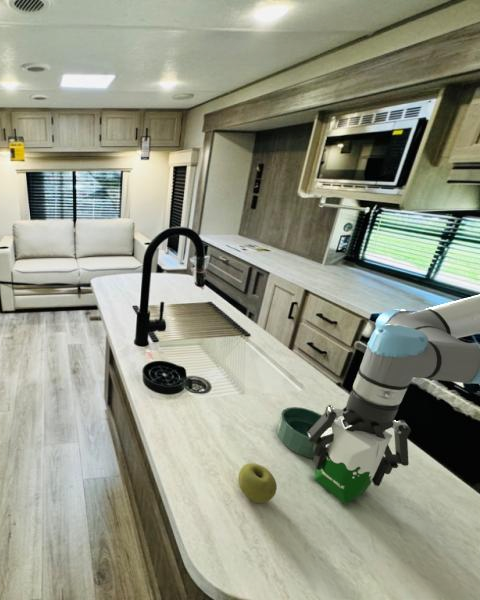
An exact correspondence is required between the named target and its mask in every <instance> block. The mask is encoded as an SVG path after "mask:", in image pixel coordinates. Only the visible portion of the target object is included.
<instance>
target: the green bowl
mask: <svg viewBox="0 0 480 600" xmlns="http://www.w3.org/2000/svg"><path fill="white" fill-rule="evenodd" d="M322 415H323V414H320V413H319V412H316V411H314V410H312V409H308V408H304V407H297V406H291V407H286V408H285V409H283V410H282V411H281V413H280V417H279V421H278V425H277V428H276V433H277V437H278V438H279V440H280V441H281V443H282V444H283V445H285V446H286V447H287V448H288V449H289V450H290V451H292V452H295V453H297V454H298V455H301V456H303V457H306V458H309V459H314V457H315V455H314V453H313V449H312V448H313V445H314V443H312V442H310V441H309V438H308V435H307V432H308V431H309V430H310V429H311V428H312V426H313V425H314V424H315V423H316V422H317V421H318V420H319V419H320V418H321V416H322ZM330 427H332V425H331V426H330ZM330 427H329V428H330Z"/></svg>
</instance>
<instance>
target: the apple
mask: <svg viewBox="0 0 480 600" xmlns="http://www.w3.org/2000/svg"><path fill="white" fill-rule="evenodd" d="M237 479H238V485H239V488H240V490H241V492H242V493H243V495H244V496H245V497H247V499H248V500H250V501H252V502H255V503H257V504H265V503H268V502H270V501H271V500H272V499H273V498H274V497H275V495H276V494H277V481H276V479H275V476H274V475H273V474H272V473H271V471H270V470H269V469H268V468H266V467H265V466H264V465H261V464H259V463H254V462H248V463H246V464H244V465H243V466H241V468H240V469H239V472H238V477H237Z"/></svg>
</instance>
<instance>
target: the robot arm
mask: <svg viewBox="0 0 480 600" xmlns="http://www.w3.org/2000/svg"><path fill="white" fill-rule="evenodd" d="M374 327H375V329H374V330H373V331H372V334H371V336H370V338H369V340H368V342H367V343H366V350H365V352H364V355H363V358H362V360H361V363H360V366H359V369H358V371H357V374H356V377H355V379H354V382H353V383H352V384H353V385H352V389H351V391H350V394H349V395H348V399H347V402H346V406H345V407H343V408H342V409H341V408H336V407H335V408H334V407H333V405H331V404H328V405H326V407H325V411H324V413H323V414H321V415H322V416H321V418H320V419H319V420H318V421H317V422H316V423H315V424H314V425H313V426H312V428H311V429H310V430H309V431H308V432H307V435H308V438H309V441H310V442H312V443H314V445H313V448H312V449H313V453H314V455H315V457H314V458H313V463H314V467H315V469H316V470H320V468H321V465H322V463H323V460H324V457H325V454H326V451H327V447H326V445H327V444H329V443H331V442H332V441H333V438H334V434H333V433H332V430H331V428H332V427H330V426H331V425H332V424H333V422H335V421H337V420H338V419H339V418H340V417H341V418H342V417H343V418H342V419H341V420H340V421H341V423H342V425H343V427H344V429H345V430H347V431H351V432H353V431H355V430H356V431H363V432H367V433H370V434H376V436H377V437H379V438H383V439H385V436H384V434H383V431H387V430H389V429H393V434H394V445H395V446H394V447H395V448H394V449H395V453H393V452H392V450H391V448H390V445H389V444H388V445H387V446H386V449H385V452H384V455H383V457H382V459H381V462H380V464H379V466H378V468H377V470H376V473H375V475H374V477H373V479H372V481H371V482H372V483H373V485H374V486H376V487H380V485H381V483H382V481H383V479H384V476H385V474H386V475H390V474H391V472H392V470H393V469H397V468H399V465H402V466H403V467H408V466H409V464H410V463H409V462H410V461H409V443H408V437H409V435H410V434H411V432H412V429H411V428H410V426H409V425H408V424H407V423H406V421H405V420H404V419H399V420H398V421H396V420H395V417H396V415H397V414H398V411H399V408H400V404H401V403H402V402H403V400H404V399H403V398H404V396H405V394H406V392H407V390H408V388H409V386H410V384H411V383H412V380H413V379H414V378H417V379H418V378H419V379H425V380H426V379H428V380H437V381H443V382H444V381H445V382H452V383H461V384H465V385H471V384H473V385H474V384H476V385H477V384H478V385H480V343H478V342H465V341H462V340H461V339H459V338H464V337H469V336H473V335H474V336H475V335H477V334H480V294H477V295H473V296H470V297H465V298H462V299H459V300H455V301H451V302H447V303H444V304H443V303H442V304H440V305H436V306H433V307H432V306H431V307H429V308H426V309H425V308H424V309H421V310H416V311H413V312H412V311H409V310H406V309H403V308H392V309H391V308H390V309H387V310H385V311H384V312H382V313H380V314H379V315H378V317H377V318H376V320H375V324H374ZM344 421H346V422H347V423H348V425H349V426H347V427H346V425H345V422H344ZM329 427H330V428H329Z"/></svg>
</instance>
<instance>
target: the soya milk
mask: <svg viewBox="0 0 480 600" xmlns="http://www.w3.org/2000/svg"><path fill="white" fill-rule="evenodd" d="M342 418H343V416H341V417H338V419H337V420H335V421H334V422H333V424H332V428H331V430H332V433H333V434H334V438H333V441H332V442H331V443H329V444H327V445H326V447H327V451H326V454H325V457H324V460H323V463H322V465H321V468H320V470H318V469H316V473H315V476H314V479H313V480H314V481H315V482H316V483H318V484H319V485H320V486H321V487H322V488H323V489H325V490H326V491H328V492H329V493H330V494H332V496H334V497H335V498H336V499H338V500H339V501H340V502H341V503H343V504H344V505H348V504H349V503H351V502H352V501H354V500H355V499H357V498H358V497H361V496H362V495H363V494H365V493H366V491H367V489H368V488H369V487H370V485H371V483H372V482H373V481H372V479H373V477H374V475H375V473H376V470H377V468H378V466H379V464H380V462H381V459H382V457H383V456H385V455H384V452H385V449H386V446H387V445H388V446H389V443H390V442H391V439H392V437H393V434H391V433H389V432H388V431H387V430H385V431H383V434H384V436H385V439H383V438H379V437H377V436H376V434H370V433H367V432H363V431H356V430H355V431H353V432H351V431H347V430H345V429H344V427H343V425H342V423H341V421H340V420H341V419H342ZM344 422H345V425H346V427H347V426H349V425H348V423H347V422H346V421H344Z"/></svg>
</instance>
